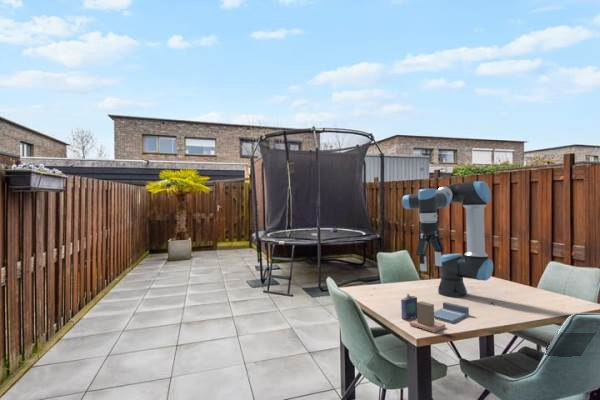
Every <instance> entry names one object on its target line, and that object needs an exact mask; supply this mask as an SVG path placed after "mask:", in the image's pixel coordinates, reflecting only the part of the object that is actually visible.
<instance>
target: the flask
mask: <svg viewBox="0 0 600 400" xmlns="http://www.w3.org/2000/svg"><path fill="white" fill-rule="evenodd" d="M400 302H401V303H400V305H401V308H400V309H401V319H402V320H408V318H409V319H412V318H416V317H415V316H417V302H418V297H417V296H415V295H411V294H410V293H406V297H404V298H401V299H400ZM411 317H412V318H411Z"/></svg>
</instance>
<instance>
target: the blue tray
mask: <svg viewBox="0 0 600 400" xmlns="http://www.w3.org/2000/svg"><path fill="white" fill-rule="evenodd" d="M469 310H470V308H469V307H468V306H465V305H459V304H455V303H452V302H451V303H450V302H446V301H444V302H443V303H442V308H439V309H437V310H436V311H435V310H434V318H435V319H434V320H438V319H439V321H443V322H445V321H446V323H449V322H450V324H455V323H457V322H458V321H460V320H462V319H465V318H466V317H468V316H470V311H469Z"/></svg>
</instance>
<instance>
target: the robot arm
mask: <svg viewBox="0 0 600 400" xmlns="http://www.w3.org/2000/svg"><path fill="white" fill-rule="evenodd" d="M491 198H492V194H491V189H490V187H489V185H488V183H486V182H485V181H479V180H478V181H477V180H476V181H467V182H457V183H451V184H448V185H444V186H441V187H439V188H438V189H435V188H420V189H419V190H418V191H417V193H414V194H413V193H412V194H411V193H410V194H405V195H403V196H402V199H401V205H402V208H404V209H406V210H415V209H416V210H418V211H419V214H418V215H419V222H420V223H419V229H420V231H422V233H419V234H418V241H417V248H416V255H415V256H417V257H419V269H420V271H421V272H427V271H428V267H427V256H426V254H427V250H428V247H429V245H430V244H431V245H432V247H433V249H434V266H436V267H440V268H439V269H440V281H439V284H438V288H437V290H438V292H437V293H438V294H439V295H441V296H445V297H452V298H463V297H464V298H465V297H467V296H468V291H467V287H466V286H465V282H464V279H470V280H471V279H472V280H477V281H488V280H489V279H491V277H492V274H493V272H494V262H493V260H492V259H490V258H489V254H488V253H486V243H485V240H486V239H485V215H484V213H485V212H484V211H485V210H484V209H485V208H486V207H487V205H488V204H487V203H489V202H490V201H491ZM451 203H452V204H462V207H463V208H465V220H466V221H465V222H466V223H465V224H466V227H465V228H466V252H465V253H464V254H462V253H447V254H442V253H443V252H444V247H443V243H442V240H441V236H440V232H439V231H438V230H439V225H438V222H437V221H438V217H439V215H438V209H444V208H447V207H448V206H450V204H451Z"/></svg>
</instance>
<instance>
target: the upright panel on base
mask: <svg viewBox="0 0 600 400" xmlns="http://www.w3.org/2000/svg"><path fill="white" fill-rule="evenodd" d="M434 312H435V305H434V304H433V303H430V302H426V301H417V318H416V319H414V320H411V321H409V326H412V327H414V326H415V328H418V327H419V328H418V329H421V328H422V330H424V329H425V330H424V331H427V330H428V332H430V331H432V332H431V333H434V332H435V333H437V332H439V331H440V329H441V330H442V329H444V328H446V323H442V322H439V321H435V319H434ZM438 330H439V331H438ZM436 331H437V332H436Z"/></svg>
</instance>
